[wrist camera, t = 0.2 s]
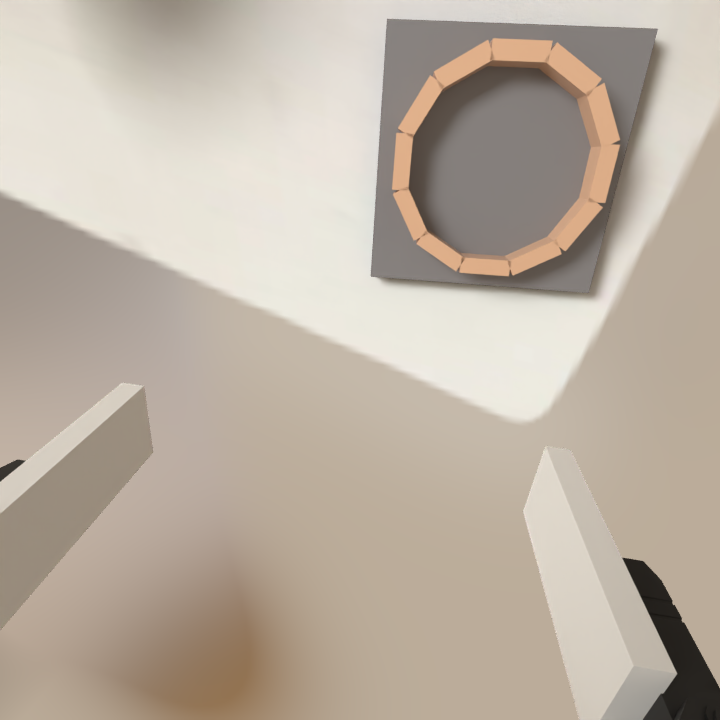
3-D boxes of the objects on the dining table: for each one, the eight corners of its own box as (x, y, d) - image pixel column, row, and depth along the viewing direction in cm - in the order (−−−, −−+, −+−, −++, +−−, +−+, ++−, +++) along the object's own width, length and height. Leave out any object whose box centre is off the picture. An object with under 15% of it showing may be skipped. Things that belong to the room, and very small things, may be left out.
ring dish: (388, 24, 33) (385, 10, 30) (647, 34, 32) (674, 20, 28) (372, 272, 40) (368, 282, 37) (582, 288, 39) (597, 299, 36)
